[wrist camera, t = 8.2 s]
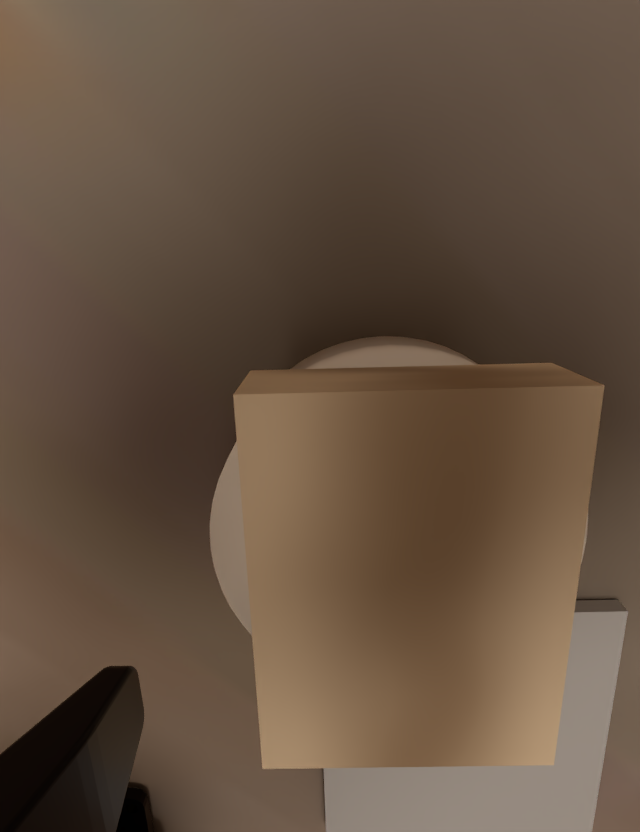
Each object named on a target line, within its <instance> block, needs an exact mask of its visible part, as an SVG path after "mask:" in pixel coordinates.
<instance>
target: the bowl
mask: <svg viewBox="0 0 640 832" xmlns="http://www.w3.org/2000/svg"><path fill="white" fill-rule="evenodd" d="M443 365H479V364H477V363H475V362H474V361H472V360H471V359H469V358H468V357H466V356H465V355H462V354H460V353H458V352H456V351H454V350H452V349H450V348H448V347H445V346H442V345H439V344H436V343H432V342H429V341H426V340H420V339H415V338H409V337H395V336H379V337H368V338H360V339H356V340H352V341H347V342H343V343H339V344H337V345H334V346H331V347H329V348H326V349H323V350H321V351H319V352H317V353H315V354H313V355H311V356H309V357H308V358H306V359H304V360H302V361H301V362H299V363H298V364H296V365H295V366H294V367H292V368H291V369H327V368H366V367H404V366H443ZM587 528H588V514H587V521H586V529H585V536H584V544H583V551H582V559H581V562H582V560H583V555H584V550H585V545H586V540H587ZM210 548H211V553H212V559H213V565H214V569H215V572H216V575H217V578H218V581H219V584H220V587H221V590H222V592H223V594H224V596H225V598H226V600H227V602H228V604H229V606H230V608H231V609H232V611H233V612H234V613H235V615H236V616H237V618H238V619H239V621H240V622H241V624H242V625H243V626H244V627H245V628H246V630H247V631H248V632H249V633H250V634H251V635H252V628H251V615H250V602H249V590H248V577H247V564H246V551H245V539H244V526H243V513H242V501H241V488H240V475H239V462H238V450H237V441H236V443H235V445H234V447H233V449H232V451H231V453H230V455H229V457H228V459H227V461H226V463H225V466H224V468H223V470H222V473H221V475H220V477H219V480H218V483H217V486H216V490H215V494H214V498H213V501H212V509H211V517H210Z"/></svg>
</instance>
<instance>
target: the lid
mask: <svg viewBox="0 0 640 832" xmlns="http://www.w3.org/2000/svg"><path fill="white" fill-rule="evenodd" d="M604 386H605V385H603V384H600V383H598V382H596V381H593V380H591V379H589V378H586V377H584V376H581V375H579V374H577V373H574V372H572V371H570V370H567V369H565V368H563V367H560V366H558V365H556V364H553V363H520V364H482V365H443V366H404V367H366V368H327V369H288V370H250V372H249V373H248V375H247V376H246V377H245V379H244V380H243V382H242V383H241V384H240V386H239V387H238V389H237V390H236V391H235V393H234V394H233V399H234V411H235V424H236V437H237V450H238V462H239V475H240V488H241V501H242V513H243V526H244V539H245V551H246V564H247V577H248V590H249V602H250V615H251V628H252V640H253V653H254V666H255V679H256V691H257V704H258V717H259V730H260V742H261V755H262V768H263V769H299V768H378V767H456V766H535V765H554V761H555V753H556V746H557V738H558V731H559V723H560V716H561V708H562V701H563V693H564V686H565V678H566V671H567V663H568V656H569V648H570V641H571V633H572V626H573V618H574V611H575V603H576V596H577V588H578V581H579V574H580V566H581V559H582V551H583V544H584V536H585V529H586V521H587V514H588V506H589V499H590V491H591V484H592V476H593V469H594V461H595V454H596V446H597V439H598V431H599V424H600V416H601V409H602V401H603V394H604Z"/></svg>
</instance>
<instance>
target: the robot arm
mask: <svg viewBox="0 0 640 832" xmlns="http://www.w3.org/2000/svg"><path fill="white" fill-rule="evenodd" d="M143 722H144V707H143V701H142V695H141V689H140V683H139V677H138V673H137V670H136V669H135V668H134V667H133V666H109V667H106V668H104V669H103V670H101V671H100V672H99V673H97V674H96V675H95V676H94V677H93V678H91V679H90V680H89V681H88V682H87V683H85V684H84V685H83V686H82V687H81V688H79V689H78V690H77V691H76V692H75V693H73V694H72V695H71V696H70V697H69V698H67V699H66V700H65V701H64V702H63V703H61V704H60V705H59V706H58V707H57V708H55V709H54V710H53V711H52V712H51V713H49V714H48V715H47V716H46V717H44V718H43V719H42V720H41V721H40V722H38V723H37V724H36V725H35V726H34V727H32V728H31V729H30V730H29V731H28V732H26V733H25V734H24V735H23V736H22V737H20V738H19V739H18V740H17V741H16V742H14V743H13V744H12V745H11V746H10V747H8V748H7V749H6V750H5V751H4V752H2V753H1V754H0V832H154V829H153V823H152V817H151V811H150V805H149V800H148V796H147V794H146V793H145V792H144V791H143V790H141V789H138V788H127V786H128V783H129V779H130V775H131V771H132V767H133V763H134V759H135V756H136V752H137V748H138V744H139V740H140V736H141V732H142V728H143Z"/></svg>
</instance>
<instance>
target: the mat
mask: <svg viewBox="0 0 640 832" xmlns="http://www.w3.org/2000/svg"><path fill="white" fill-rule="evenodd" d="M627 615H628V611H627V610H626V608H625V607H624V606H623V605H622V604H621V603H620V602H619V600H576V603H575V611H574V618H573V626H572V633H571V641H570V648H569V656H568V663H567V671H566V678H565V686H564V693H563V701H562V708H561V716H560V723H559V731H558V738H557V746H556V753H555V761H554V765H535V766H456V767H378V768H324V791H325V817H326V832H592V828H593V822H594V816H595V810H596V804H597V798H598V791H599V785H600V779H601V773H602V767H603V761H604V755H605V749H606V743H607V737H608V730H609V724H610V718H611V712H612V706H613V700H614V694H615V688H616V682H617V676H618V670H619V663H620V657H621V651H622V645H623V639H624V633H625V627H626V621H627Z"/></svg>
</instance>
